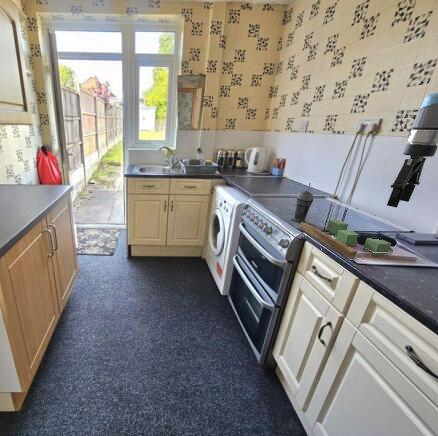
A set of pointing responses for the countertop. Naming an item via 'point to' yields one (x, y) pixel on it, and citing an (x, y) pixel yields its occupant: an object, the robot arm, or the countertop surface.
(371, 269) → the countertop surface
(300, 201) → the beverage cup
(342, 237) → the block middle
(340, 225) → the block
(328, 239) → the oak rail
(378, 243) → the block
